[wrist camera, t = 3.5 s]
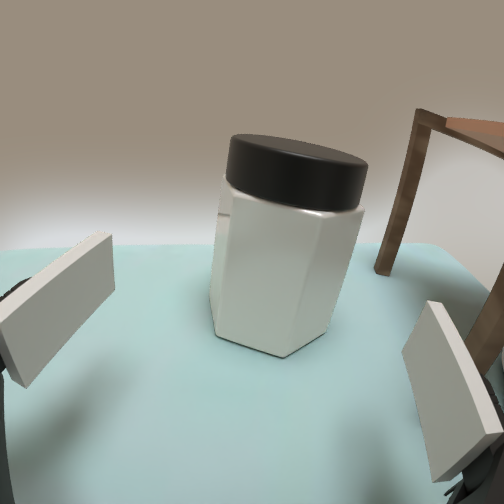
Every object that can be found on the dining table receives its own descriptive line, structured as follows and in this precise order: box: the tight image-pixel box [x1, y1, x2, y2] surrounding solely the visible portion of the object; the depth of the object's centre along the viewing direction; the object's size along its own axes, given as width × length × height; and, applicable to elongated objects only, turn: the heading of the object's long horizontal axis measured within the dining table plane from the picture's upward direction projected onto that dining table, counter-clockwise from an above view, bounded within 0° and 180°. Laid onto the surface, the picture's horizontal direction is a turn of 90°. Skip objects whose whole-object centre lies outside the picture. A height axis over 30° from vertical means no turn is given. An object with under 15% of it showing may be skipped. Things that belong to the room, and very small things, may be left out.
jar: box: [209, 134, 368, 357], centre depth 20 cm, size 9×8×12 cm
